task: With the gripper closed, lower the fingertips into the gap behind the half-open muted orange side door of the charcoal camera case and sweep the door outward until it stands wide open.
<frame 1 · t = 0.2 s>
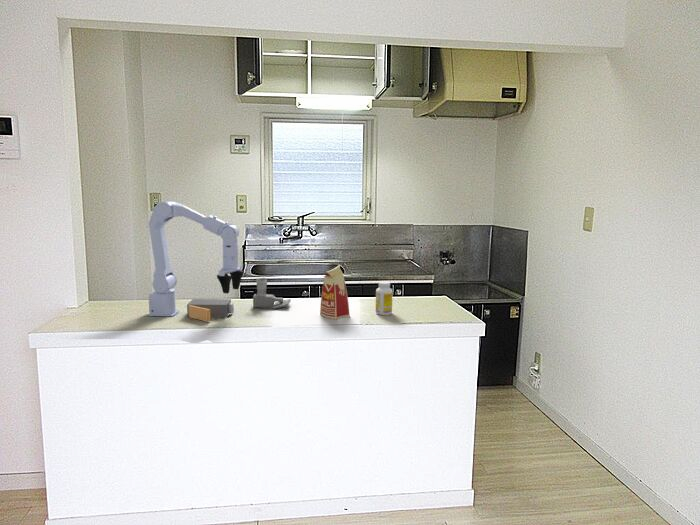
hand: (231, 291, 206), 10 cm above the countertop, tool pointing down, fingers open, 7 cm apart
milk carton: (334, 316, 210), on the countertop
supplement bottle: (383, 313, 215), on the countertop
camera case: (209, 314, 209), on the countertop
camera: (271, 307, 222), on the countertop
case door: (198, 313, 200), point 3 cm above the countertop, hinge at 35.0°
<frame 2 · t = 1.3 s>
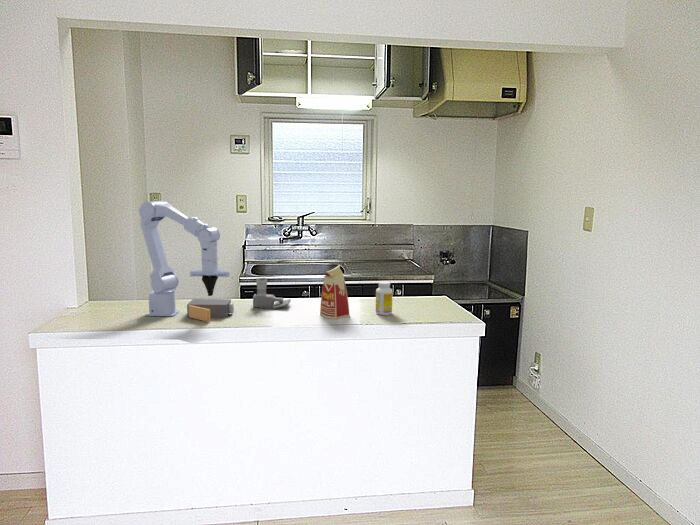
hand: (210, 295, 200), 9 cm above the countertop, tool pointing down, fingers closed
nothing on the countertop moved.
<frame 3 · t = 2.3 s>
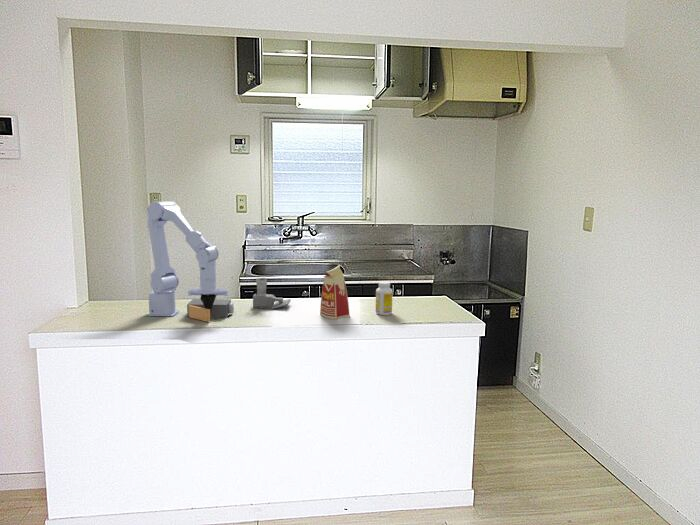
hand: (209, 313, 201), 2 cm above the countertop, tool pointing down, fingers closed
case door: (198, 313, 200), point 3 cm above the countertop, hinge at 35.6°, touching gripper
everything else where it was.
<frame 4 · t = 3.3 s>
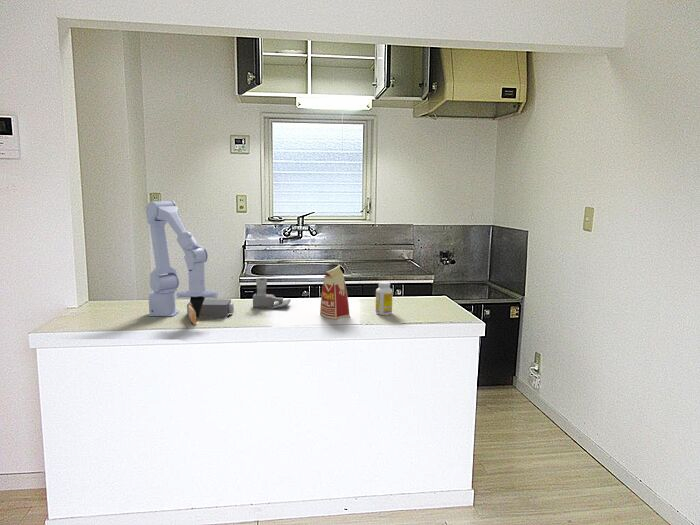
hand: (198, 316, 197), 2 cm above the countertop, tool pointing down, fingers closed
case door: (191, 314, 199), point 3 cm above the countertop, hinge at 65.7°, touching gripper
everything else where it was.
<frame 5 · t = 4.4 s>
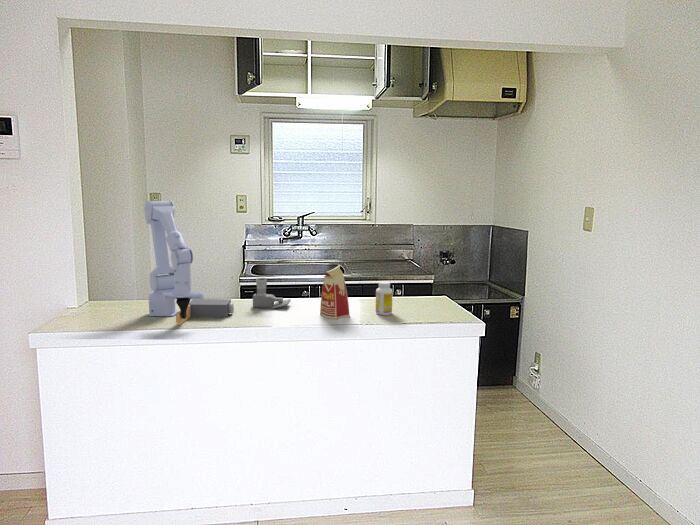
hand: (184, 317, 195), 2 cm above the countertop, tool pointing down, fingers closed, pressing on case door
case door: (183, 314, 198), point 3 cm above the countertop, hinge at 96.0°, touching gripper
everything else where it was.
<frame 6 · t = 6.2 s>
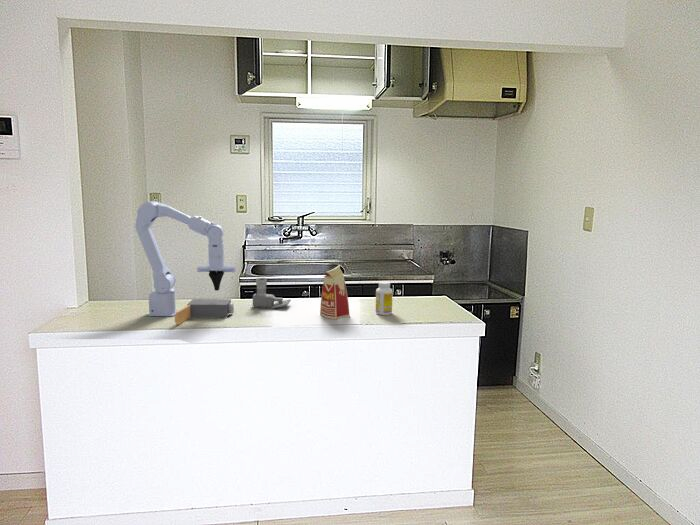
hand: (217, 289, 209), 9 cm above the countertop, tool pointing down, fingers closed
case door: (183, 314, 198), point 3 cm above the countertop, hinge at 98.4°
everything else where it was.
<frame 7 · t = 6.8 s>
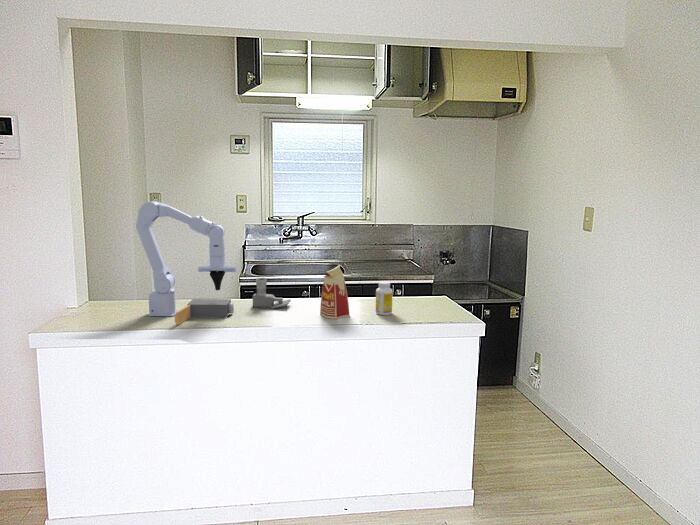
hand: (217, 289, 210), 9 cm above the countertop, tool pointing down, fingers closed
nothing on the countertop moved.
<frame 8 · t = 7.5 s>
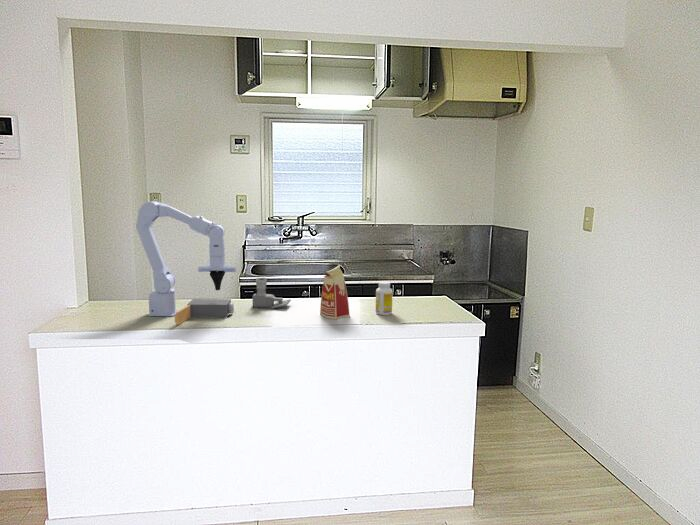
hand: (217, 289, 210), 9 cm above the countertop, tool pointing down, fingers closed
nothing on the countertop moved.
at the end: case door at +98° (first picture: +35°) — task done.
